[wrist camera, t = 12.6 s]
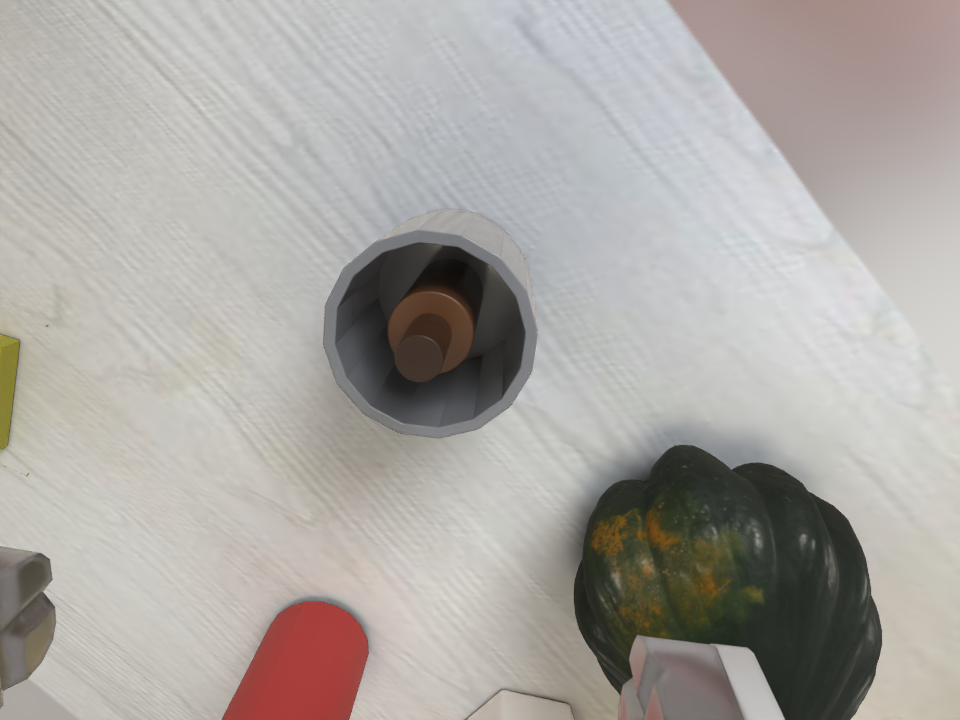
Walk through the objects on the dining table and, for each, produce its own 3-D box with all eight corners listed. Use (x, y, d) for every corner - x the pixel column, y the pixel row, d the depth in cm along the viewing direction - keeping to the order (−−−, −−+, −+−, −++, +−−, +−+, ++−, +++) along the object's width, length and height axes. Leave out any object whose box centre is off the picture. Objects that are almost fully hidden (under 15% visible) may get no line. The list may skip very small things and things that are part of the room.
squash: (815, 376, 32) (697, 657, 23) (959, 590, 35) (902, 900, 27) (599, 420, 43) (468, 620, 35) (725, 579, 47) (634, 794, 38)
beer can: (313, 577, 43) (240, 732, 32) (391, 640, 44) (347, 812, 33) (250, 637, 45) (158, 806, 33) (326, 696, 46) (263, 880, 34)
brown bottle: (418, 254, 36) (373, 305, 24) (487, 263, 36) (473, 317, 24) (412, 320, 37) (366, 398, 25) (478, 329, 37) (462, 411, 25)
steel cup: (379, 199, 36) (329, 218, 26) (541, 220, 36) (551, 246, 26) (367, 354, 38) (318, 423, 29) (519, 374, 38) (520, 449, 29)
